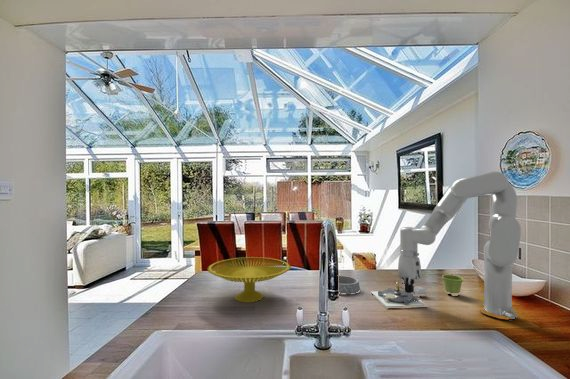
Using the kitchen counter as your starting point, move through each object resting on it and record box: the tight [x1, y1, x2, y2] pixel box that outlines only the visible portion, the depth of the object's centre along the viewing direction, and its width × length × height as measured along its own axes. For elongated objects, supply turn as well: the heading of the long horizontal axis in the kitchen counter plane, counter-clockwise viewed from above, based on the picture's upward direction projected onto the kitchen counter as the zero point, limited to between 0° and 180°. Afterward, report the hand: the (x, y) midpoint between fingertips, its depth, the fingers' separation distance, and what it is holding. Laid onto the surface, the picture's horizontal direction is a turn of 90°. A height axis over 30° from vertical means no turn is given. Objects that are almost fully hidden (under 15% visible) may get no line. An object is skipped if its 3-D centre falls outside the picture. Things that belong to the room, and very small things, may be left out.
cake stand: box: [207, 256, 292, 303], centre depth 147 cm, size 40×40×15 cm
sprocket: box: [377, 281, 419, 304], centre depth 143 cm, size 18×17×6 cm
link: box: [413, 285, 427, 295], centre depth 149 cm, size 4×4×4 cm
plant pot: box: [441, 274, 464, 293], centre depth 151 cm, size 9×9×9 cm
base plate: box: [370, 290, 428, 308], centre depth 143 cm, size 19×19×1 cm
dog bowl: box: [338, 275, 361, 294], centre depth 159 cm, size 17×18×5 cm
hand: (409, 292), depth 143 cm, fingers closed
